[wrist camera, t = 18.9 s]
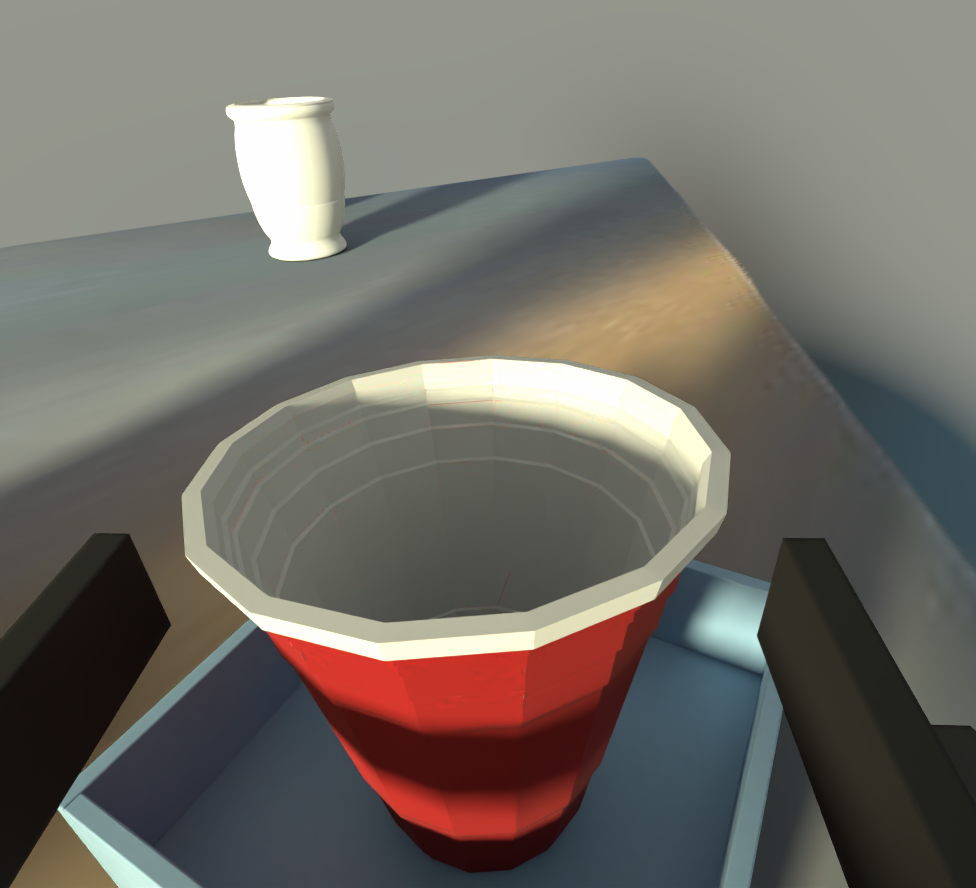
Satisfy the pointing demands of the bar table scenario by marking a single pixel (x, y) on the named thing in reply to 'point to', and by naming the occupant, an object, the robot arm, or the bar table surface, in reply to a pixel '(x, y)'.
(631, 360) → the bar table surface
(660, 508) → the plastic cup
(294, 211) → the jar
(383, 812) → the tray
